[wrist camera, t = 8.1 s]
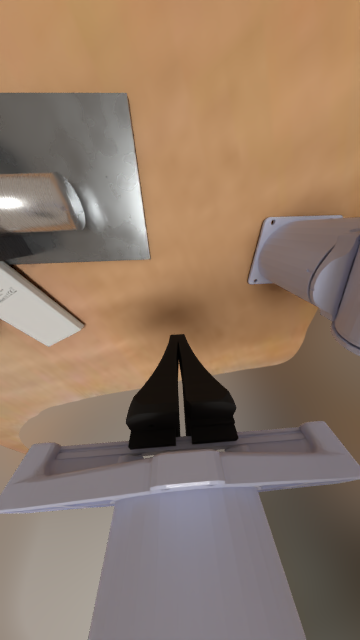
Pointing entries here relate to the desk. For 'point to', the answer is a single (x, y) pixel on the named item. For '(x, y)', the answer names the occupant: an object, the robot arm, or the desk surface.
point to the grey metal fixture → (76, 173)
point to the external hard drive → (33, 309)
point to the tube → (38, 203)
